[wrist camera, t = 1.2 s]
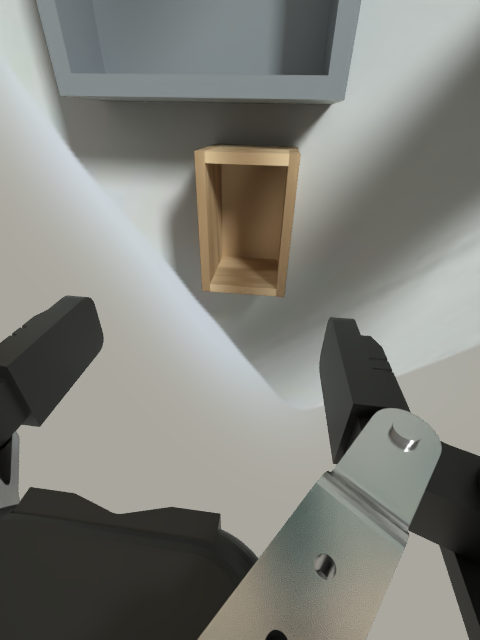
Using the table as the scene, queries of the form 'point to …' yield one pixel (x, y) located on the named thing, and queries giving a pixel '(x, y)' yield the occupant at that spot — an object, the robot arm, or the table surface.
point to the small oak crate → (245, 216)
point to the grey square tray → (201, 49)
